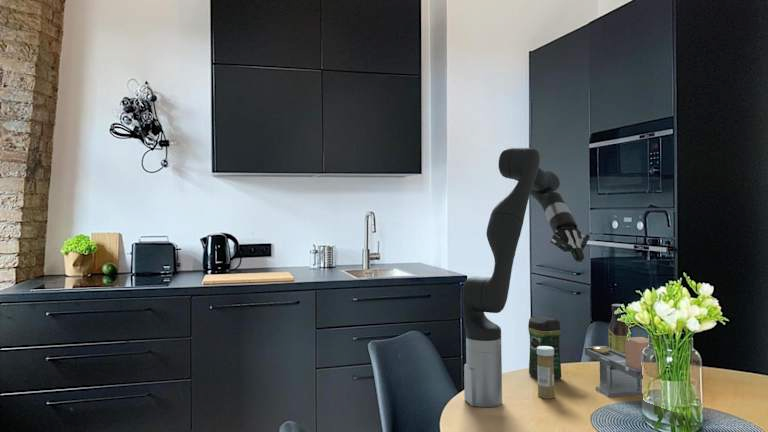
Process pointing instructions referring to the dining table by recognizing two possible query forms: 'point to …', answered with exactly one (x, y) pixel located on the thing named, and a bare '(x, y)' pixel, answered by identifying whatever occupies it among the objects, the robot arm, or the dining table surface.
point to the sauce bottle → (617, 332)
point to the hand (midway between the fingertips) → (580, 260)
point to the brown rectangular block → (635, 351)
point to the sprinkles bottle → (545, 372)
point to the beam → (615, 361)
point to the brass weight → (601, 350)
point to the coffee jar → (544, 342)
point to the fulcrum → (617, 381)
